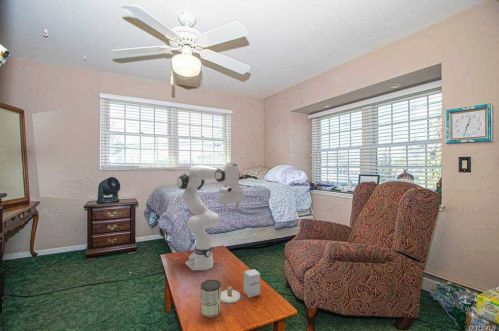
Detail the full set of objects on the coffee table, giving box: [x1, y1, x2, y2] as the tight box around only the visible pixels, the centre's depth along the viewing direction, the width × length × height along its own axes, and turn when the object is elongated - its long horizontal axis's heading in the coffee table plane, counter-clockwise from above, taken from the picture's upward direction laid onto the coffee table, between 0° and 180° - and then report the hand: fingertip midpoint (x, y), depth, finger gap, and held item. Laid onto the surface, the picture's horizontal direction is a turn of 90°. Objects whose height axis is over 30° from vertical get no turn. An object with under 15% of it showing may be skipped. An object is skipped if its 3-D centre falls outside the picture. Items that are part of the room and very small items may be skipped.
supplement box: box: [243, 268, 261, 298], centre depth 140 cm, size 7×7×13 cm
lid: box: [221, 285, 241, 304], centre depth 135 cm, size 12×12×6 cm
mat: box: [223, 294, 245, 307], centre depth 135 cm, size 12×12×1 cm
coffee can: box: [200, 279, 222, 318], centre depth 123 cm, size 10×10×14 cm
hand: (232, 209), depth 155 cm, fingers open, 8 cm apart
